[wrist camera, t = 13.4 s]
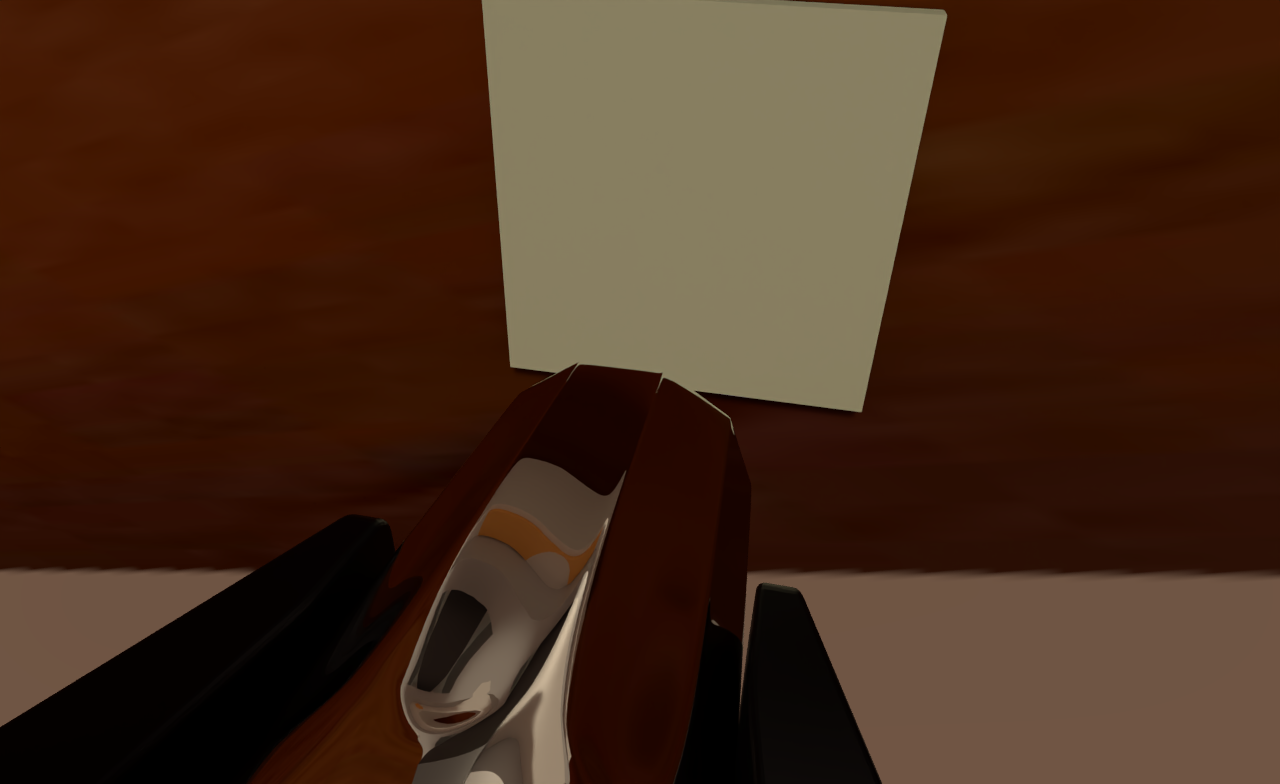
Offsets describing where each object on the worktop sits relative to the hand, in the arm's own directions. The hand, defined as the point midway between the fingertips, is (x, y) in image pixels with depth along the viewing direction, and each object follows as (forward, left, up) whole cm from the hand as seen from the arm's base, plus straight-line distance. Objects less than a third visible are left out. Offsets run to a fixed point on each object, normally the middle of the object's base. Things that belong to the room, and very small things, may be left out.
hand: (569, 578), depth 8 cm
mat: (0, 0, -10) cm, 10 cm away
